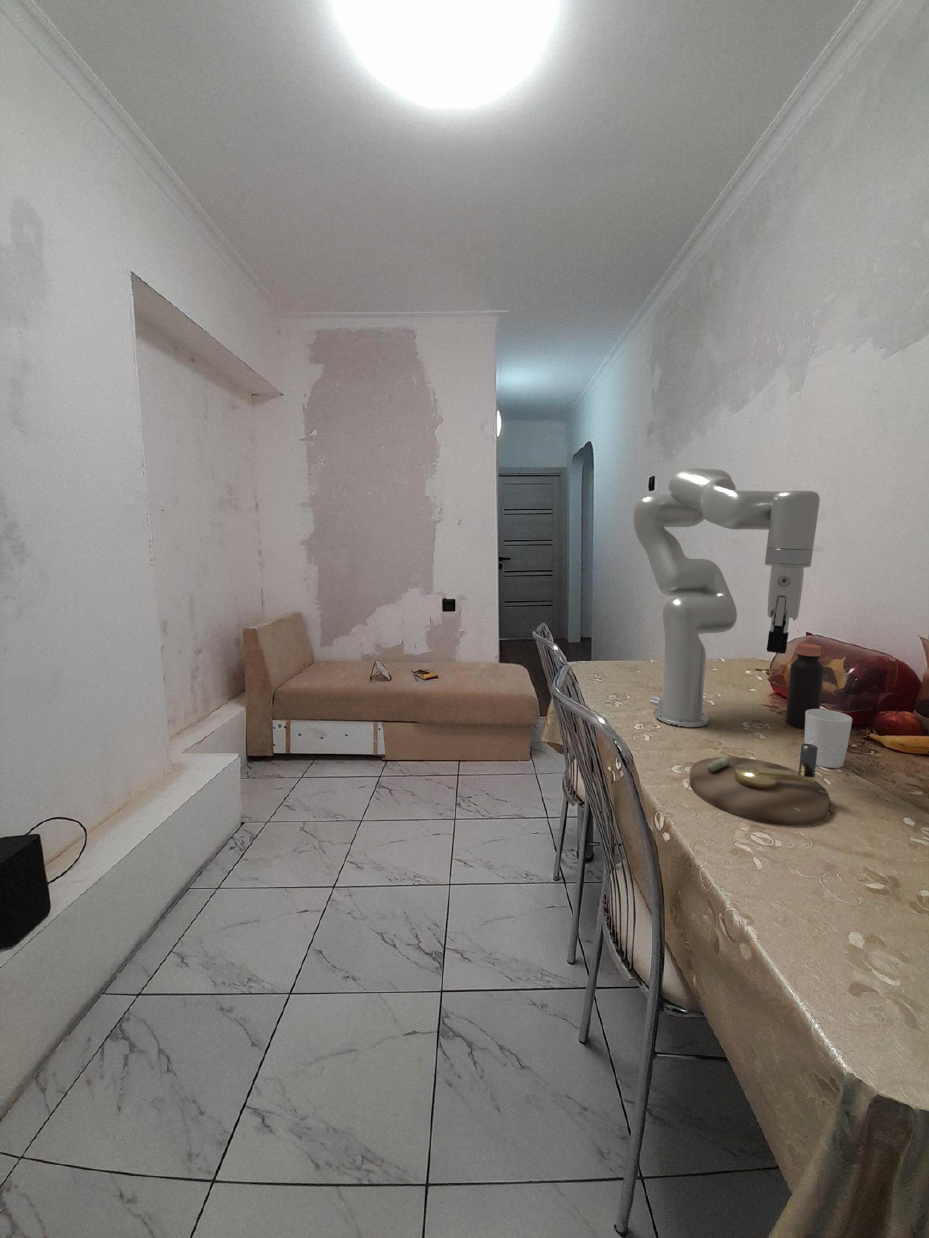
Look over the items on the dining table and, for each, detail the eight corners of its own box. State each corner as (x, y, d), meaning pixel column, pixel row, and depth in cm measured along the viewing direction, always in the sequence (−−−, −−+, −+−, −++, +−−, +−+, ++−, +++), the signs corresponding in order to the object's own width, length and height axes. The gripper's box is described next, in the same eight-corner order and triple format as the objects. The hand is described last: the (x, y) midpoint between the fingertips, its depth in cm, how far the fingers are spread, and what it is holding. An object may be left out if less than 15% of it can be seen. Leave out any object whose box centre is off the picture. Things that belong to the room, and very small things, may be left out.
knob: (740, 786, 93) (743, 747, 92) (730, 770, 100) (733, 733, 99) (821, 794, 90) (825, 754, 89) (805, 776, 97) (809, 739, 96)
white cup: (854, 771, 105) (860, 722, 103) (810, 767, 106) (815, 720, 105) (835, 755, 112) (840, 710, 111) (794, 752, 114) (799, 707, 112)
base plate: (665, 786, 98) (666, 767, 98) (726, 757, 111) (727, 741, 111) (794, 839, 81) (796, 817, 80) (848, 797, 94) (851, 778, 93)
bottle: (779, 722, 132) (786, 644, 129) (797, 718, 135) (804, 641, 132) (805, 731, 126) (813, 649, 123) (824, 727, 129) (832, 646, 126)
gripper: (810, 562, 92) (796, 663, 95) (812, 556, 104) (800, 646, 108) (761, 559, 96) (750, 657, 100) (768, 554, 108) (758, 641, 112)
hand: (776, 651), depth 104 cm, fingers closed
